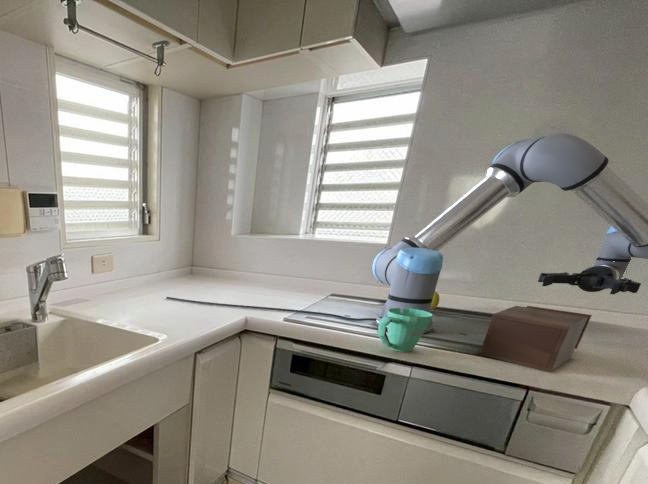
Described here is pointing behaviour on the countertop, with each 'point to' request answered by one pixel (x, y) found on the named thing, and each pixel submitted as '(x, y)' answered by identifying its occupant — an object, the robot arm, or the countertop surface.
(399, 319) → the mug
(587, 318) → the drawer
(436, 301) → the lemon
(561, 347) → the cabinet
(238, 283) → the countertop surface
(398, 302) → the robot arm
